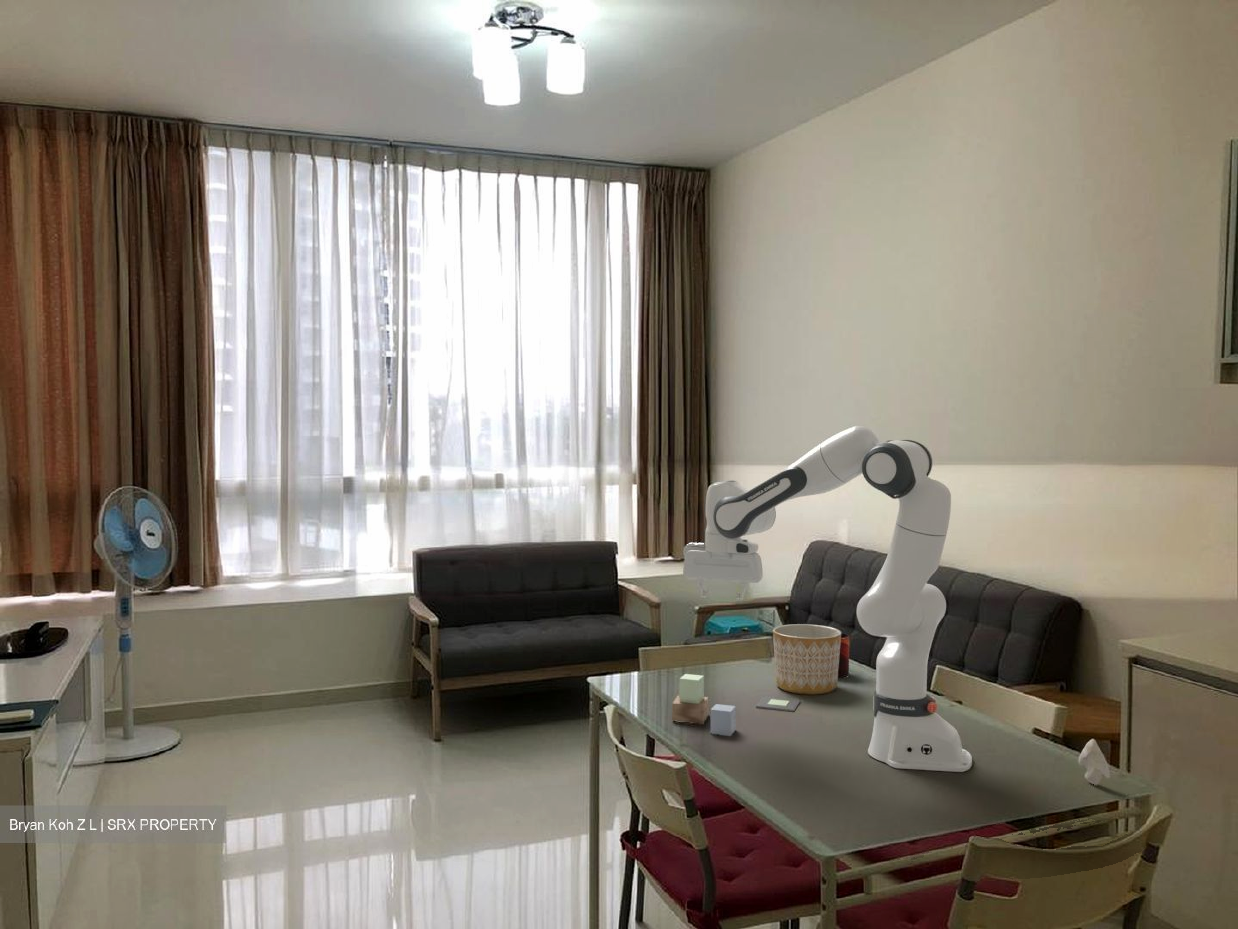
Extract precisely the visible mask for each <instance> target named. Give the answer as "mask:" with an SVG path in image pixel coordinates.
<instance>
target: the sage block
mask: <svg viewBox="0 0 1238 929" xmlns="http://www.w3.org/2000/svg"><path fill="white" fill-rule="evenodd" d="M678 680H679V683H678V684H679V694H678V695H679V702H685V703H695V704H699V703H700V702H701V701H702V700H703V699H704V697H705V676H704V675H700V674H691V673H690V674H689V673H684V674H683V675H681V677H680V678H679V679H678Z"/></svg>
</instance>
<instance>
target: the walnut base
mask: <svg viewBox="0 0 1238 929" xmlns="http://www.w3.org/2000/svg"><path fill="white" fill-rule="evenodd" d="M671 705H672V706H671V707H672V708H671V710H672V711H671V713H672V714H671V717H672V719H671V721H672V720H673V721H675V720H677V721H684V722H693V723H699V724H698V725H705V723H706V721H707V719H708V717H707V716H709V696H704V699H703V700H702V701H701V702H700V703H699V704H695V703H685V702H679V694H677V696H676V697H675V698H674V700H673V702H672V704H671ZM706 718H707V719H706ZM705 720H706V721H705ZM704 722H705V723H704Z"/></svg>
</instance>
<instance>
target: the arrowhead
mask: <svg viewBox="0 0 1238 929" xmlns="http://www.w3.org/2000/svg"><path fill="white" fill-rule="evenodd" d="M1077 763H1078V764H1079V766H1080V767H1081V766H1084V767H1085V768H1086V772H1085V774H1084V778H1085V780H1086V781H1087V782H1089V783H1090V784H1091V785H1093V784H1094V785H1093V786H1098V785H1099V784H1100V783H1101V780H1102V779H1103V776H1104V777H1106V779H1108V780H1109V779H1110V777H1111V773H1110V768H1109V764H1108V762H1107V760H1106V758H1105V754H1103V752H1102V751H1101V749H1100V747H1099V745H1098V743H1097V741H1096V739H1094V738H1092V739H1090V740H1089V741H1088V742H1086V744H1085V746H1084V747H1083V749H1082V750H1081V753H1080V755H1079V756H1078V760H1077Z"/></svg>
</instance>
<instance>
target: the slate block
mask: <svg viewBox="0 0 1238 929" xmlns="http://www.w3.org/2000/svg"><path fill="white" fill-rule="evenodd" d="M736 708H737V707H736V706H735V705H729V704H728V705H727V704H719V703H716V704H714V705H713V706H712V707H711V709H710V733H712V734H711V735H717V734H719V736H726V737H732V735H733V734H734V733H735V731H736V720H737V719H736V714H737V713H736V710H737V709H736Z"/></svg>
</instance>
